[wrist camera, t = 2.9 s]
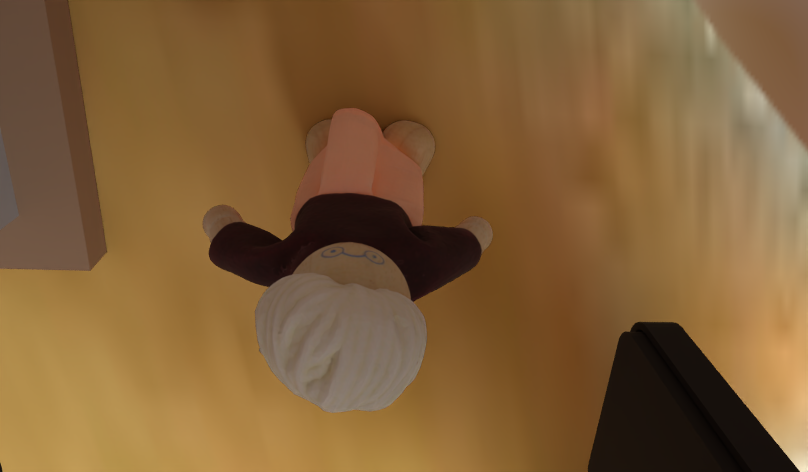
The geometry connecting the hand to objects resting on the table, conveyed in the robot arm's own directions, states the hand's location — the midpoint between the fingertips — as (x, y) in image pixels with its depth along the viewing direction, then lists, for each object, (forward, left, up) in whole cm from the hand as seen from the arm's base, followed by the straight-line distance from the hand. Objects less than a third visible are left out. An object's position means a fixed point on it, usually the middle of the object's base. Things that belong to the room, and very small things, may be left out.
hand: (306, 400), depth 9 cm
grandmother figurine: (0, +1, -14) cm, 14 cm away
